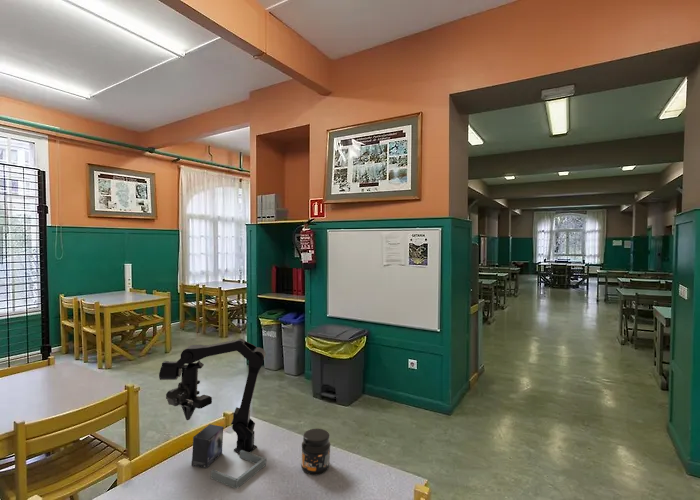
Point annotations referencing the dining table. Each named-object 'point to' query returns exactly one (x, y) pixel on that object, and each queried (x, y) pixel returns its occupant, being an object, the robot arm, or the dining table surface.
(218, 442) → the small box
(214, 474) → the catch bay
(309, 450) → the supplement container
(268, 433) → the dining table surface
